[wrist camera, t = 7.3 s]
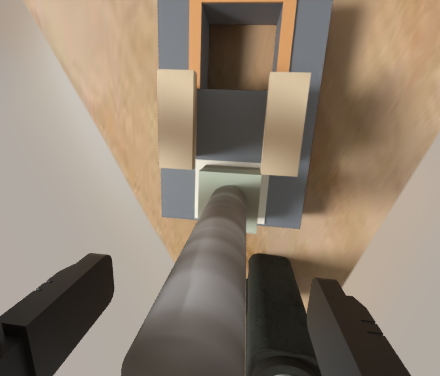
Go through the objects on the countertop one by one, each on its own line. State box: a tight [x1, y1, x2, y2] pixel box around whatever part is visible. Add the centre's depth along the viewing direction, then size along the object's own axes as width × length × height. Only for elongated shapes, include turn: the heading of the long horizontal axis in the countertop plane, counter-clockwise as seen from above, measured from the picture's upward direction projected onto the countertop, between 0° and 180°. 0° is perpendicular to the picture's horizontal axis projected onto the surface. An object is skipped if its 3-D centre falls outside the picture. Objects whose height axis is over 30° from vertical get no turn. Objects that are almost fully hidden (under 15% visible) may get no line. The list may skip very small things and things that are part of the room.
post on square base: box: [121, 165, 262, 376], centre depth 14 cm, size 5×5×18 cm
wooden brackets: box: [157, 69, 311, 177], centre depth 18 cm, size 6×9×7 cm, turn 87°
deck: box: [158, 0, 333, 229], centre depth 23 cm, size 20×14×4 cm
